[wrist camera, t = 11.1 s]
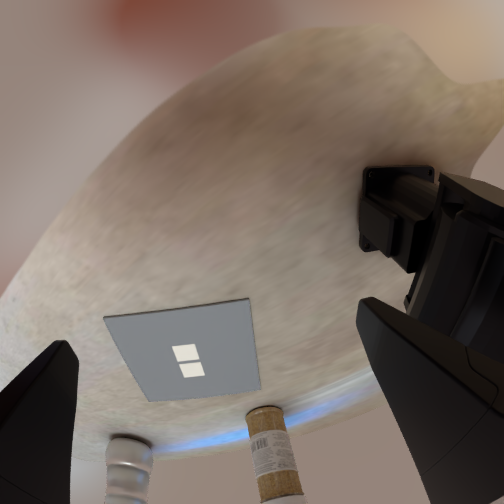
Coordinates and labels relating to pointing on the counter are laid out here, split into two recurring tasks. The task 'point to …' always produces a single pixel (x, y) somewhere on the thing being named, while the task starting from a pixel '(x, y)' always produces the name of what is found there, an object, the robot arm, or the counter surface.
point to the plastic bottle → (127, 471)
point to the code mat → (189, 350)
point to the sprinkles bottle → (273, 458)
